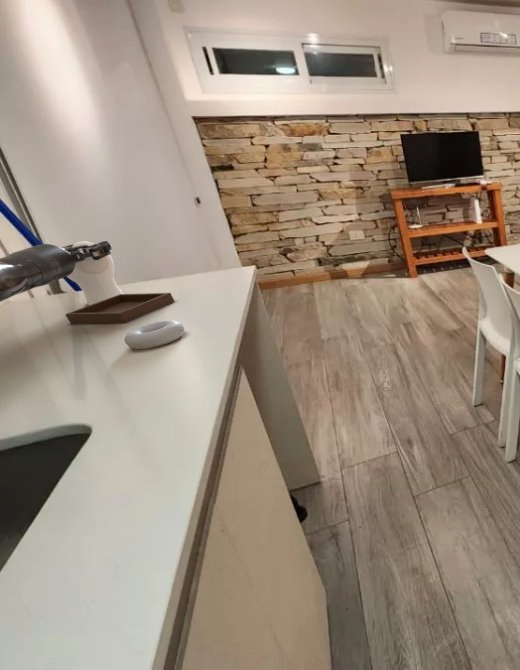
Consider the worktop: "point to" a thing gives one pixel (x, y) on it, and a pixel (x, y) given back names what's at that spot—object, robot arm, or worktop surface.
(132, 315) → the tray
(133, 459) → the worktop surface
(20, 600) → the worktop surface
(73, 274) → the cup
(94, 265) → the egg
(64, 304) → the worktop surface
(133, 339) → the donut
